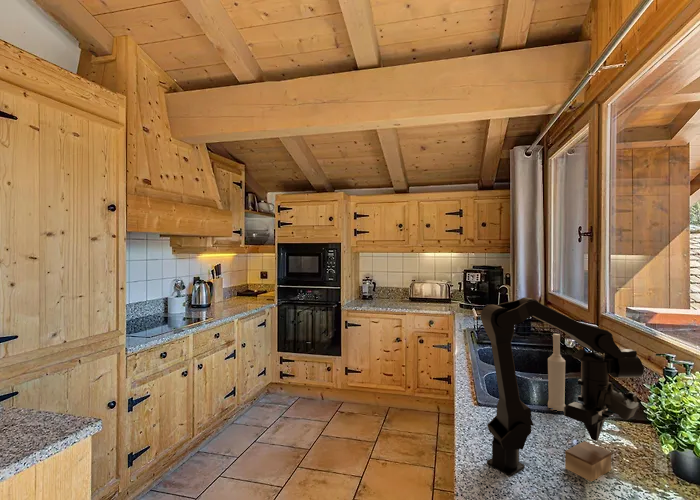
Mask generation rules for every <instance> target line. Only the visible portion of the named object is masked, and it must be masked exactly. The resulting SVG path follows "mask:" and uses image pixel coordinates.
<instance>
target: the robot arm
mask: <svg viewBox="0 0 700 500" xmlns="http://www.w3.org/2000/svg"><path fill="white" fill-rule="evenodd" d="M531 317H533V318H535V319H536V320H539V321H541V322H543V323H545V324H547V325H549V326H551V327H554V328H555V329H558V330H559V331H562V332H563V333H565V334H566V335H568V336H569V337H570V339H572V340H573V341H574V342H576V343H577V344H579V345H580V346H582V347H584V348H587V349H588V350H591V351H587V350H584V349H582V348H579V349H578V350H577V351H576V352H574V353H572V355H571V357H572V358H574V359H577V360H579V361H581V362H580V363H581V364H580V365H581V366H580V374H581V375H580V378H579V379H577V384H578V385H580V388H581V389H580V392H581V394H580V395H578V396H577V401H580V402H582V403H583V404H582V403H580V402H577V401H573V402H570V403H568V404H567V405H565V407H564V411H563V415H564V416H565V417H567V418H569V419H572V420H575V421H577V422H581V423H583V426H584V427H585V429H586V431H587V433H588V435H589V437H590V439H591V440H592V441H595V442H598V441H599V438H600V436H601V432H602V429H603V426H604V424H605V421H606V420H607V419H608V418H610V417H612V416H613V415H615V414H616V415H617V416H618V417H619V418H621V419H623V420H626V421H628V420H629V419H631V418H632V417H634V416H635V414H636V411H637V410H638V409H640V405H639V404H640V402H638V397H637V394H635V393H634V392H631V391H628V392H626V393H624V394H623V393H622V392H618V391H616V390H614V384H613V383H612V382H610V380H609V379H610V376H611V377H612V378H615V379H617V378H618V379H624V378H625V379H627V378H628V379H629V378H630V379H631V378H635V379H636V378H637V379H638V378H640V377H642V376H643V374H644V371H645V366H644V365H643V362H642V360H641V359H640V357H638V354H637V353H638V352H637V351H636V350H634V349H632V348H625V349H620V348H619V347H618V345H617V344H616V342H615V341H614V336H613V335H614V334H612V332H610V331H609V330H606V329H604V328H600V327H597V326H593V325H590V324H587V323H584V322H580V321H577V320H576V319H573V318H571V317H569V316H567V315H565V314H563V313H561V312H559V311H558V310H555V309H553V308H551V307H548V306H547V305H545V304H543V303H541V302H539V301H538V300H537V299H534V298H531V297H526V296H525V297H521V298H519V299H516V300H511V301H506V302H502V303H499V304H488V305H486V306H484V307H483V308H482V310H481V311H480V320H481V323H482V326H483V328H484V329H483V330H484V331H485V333H486V335H487V337H488V339H489V341H490V344H491V345H490V346H491V351H492V357H493V362H494V363H493V364H494V370H495V377H496V383H497V387H498V388H497V389H498V395H499V398H498V400H497V404H496V415H495V416H494V417H493V418H492V419H491V420H490V421H489V422H488V423H487V429H488V432H489V433H490V434H491V435H492V436H493V439H492V440H491V458H489V459H487V460H486V464H487V465H489V466H492V468H495V469H497V470H498V471H500V472H501V473H504V474H505V475H507V476H512V475H514V474H515V473H517V472H520V471H521V470H523V469H525V467H526V466H525V464H524V463H522V462H520V450H523V449H524V447H525V445H526V441H527V438H528V437H529V436H530V435H531V434H532V427H534V426H535V425H534V423H533V421H532V409H531V407H529V406H528V405H527V404H525V403H524V402H523V401H522V400H521V399H520V391H519V387H518V380H517V372H516V368H515V367H516V366H515V361H514V353H513V349H512V341H513V337H514V334H515V326H516V325H518V324H521V323H523V322H524V321H526V320H527V319H529V318H531ZM609 375H610V376H609ZM608 409H609V410H610V411H609V410H608Z"/></svg>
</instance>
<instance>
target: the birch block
mask: <svg viewBox="0 0 700 500" xmlns="http://www.w3.org/2000/svg"><path fill="white" fill-rule="evenodd" d="M564 454H565V456H564V457H565V458H564V459H565V463H564V464H565V465H564V466H565V467H564V469H566V470H568V471H570V472H572V473H574V474H576V475H578V476H579V477H581V478H583V479H584V480H585V479H586V480H587V481H589V482H594V481H595V480H597V479H599V478H600V477H602V476H603V475H605V474H607V473H609V472H610V471H611V470H612V451H609V450H608V449H605V448H602V447H600V446H597V445H596V444H593V443H590V442H588V441H586V440H583V442H580V443H578V444H576V445H573V446H572V447H570V448H568V449H566V450H565V451H564Z"/></svg>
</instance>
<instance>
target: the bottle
mask: <svg viewBox="0 0 700 500" xmlns="http://www.w3.org/2000/svg"><path fill="white" fill-rule="evenodd" d="M552 344H553V345H552V347H553V348H552V352H553V353H552V354H551V355H550V356H549V357H548V358H547V377H548V378H547V379H548V382H547V383H548V385H547V387H548V401H547V407H548V409H549V408H553V409H550V410H551V411H553V410H557V411H563V412H564V407H565V406H566V404H565V397H566V396H565V393H566V391H565V389H566V388H565V387H566V360H565V358H564V357H562V354H561V345H560V344H561V334H560V333H553V334H552ZM557 411H556V412H557Z"/></svg>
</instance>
